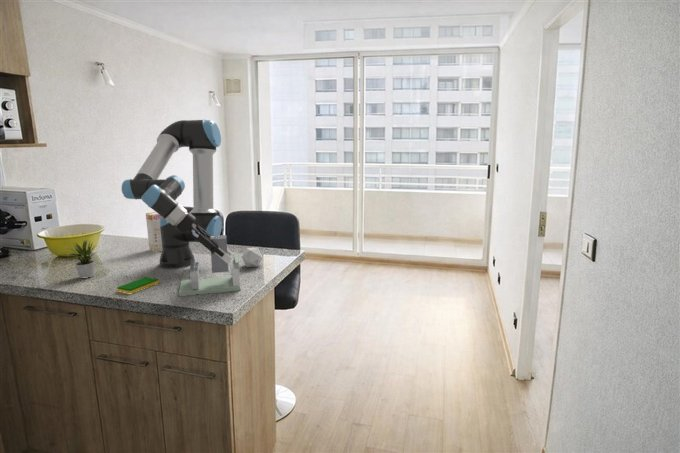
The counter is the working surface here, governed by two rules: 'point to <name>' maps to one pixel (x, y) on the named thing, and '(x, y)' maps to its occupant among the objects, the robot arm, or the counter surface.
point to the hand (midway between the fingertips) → (229, 258)
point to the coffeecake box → (154, 231)
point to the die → (252, 257)
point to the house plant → (83, 259)
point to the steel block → (217, 262)
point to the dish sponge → (138, 285)
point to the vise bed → (214, 283)
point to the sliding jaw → (194, 274)
